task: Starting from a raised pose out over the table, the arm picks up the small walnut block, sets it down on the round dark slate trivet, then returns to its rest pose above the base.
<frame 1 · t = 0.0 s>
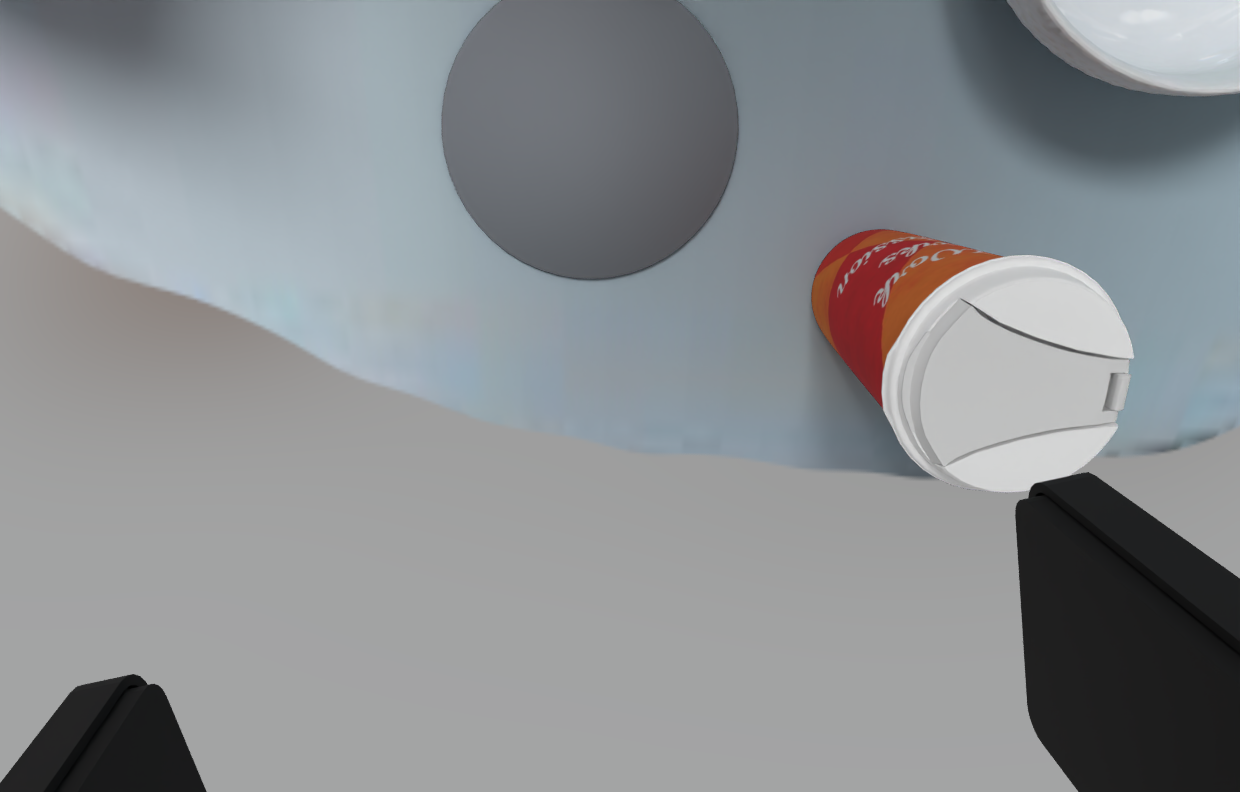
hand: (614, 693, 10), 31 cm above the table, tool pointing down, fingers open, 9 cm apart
paper cup: (869, 291, 42), on the table
trivet: (591, 132, 38), on the table
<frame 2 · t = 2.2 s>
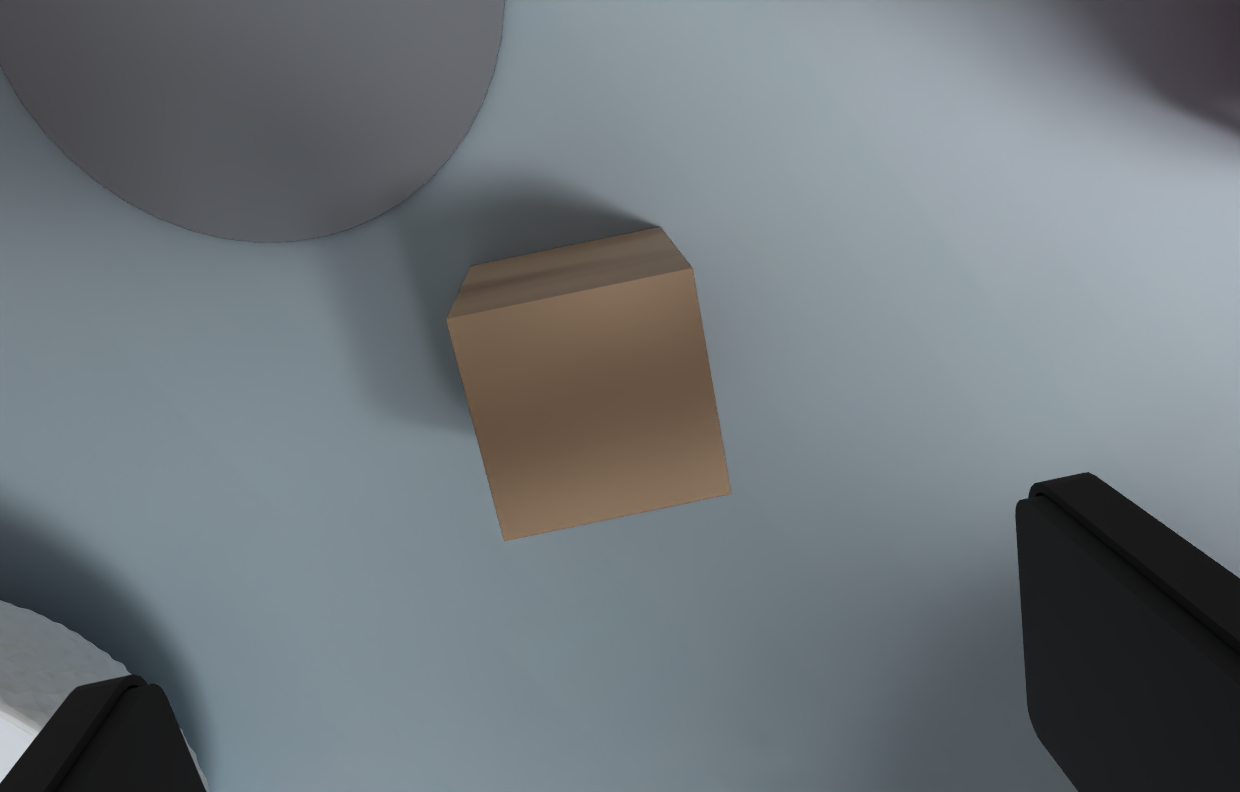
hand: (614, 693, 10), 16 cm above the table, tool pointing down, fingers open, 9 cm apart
walnut block: (585, 337, 25), on the table
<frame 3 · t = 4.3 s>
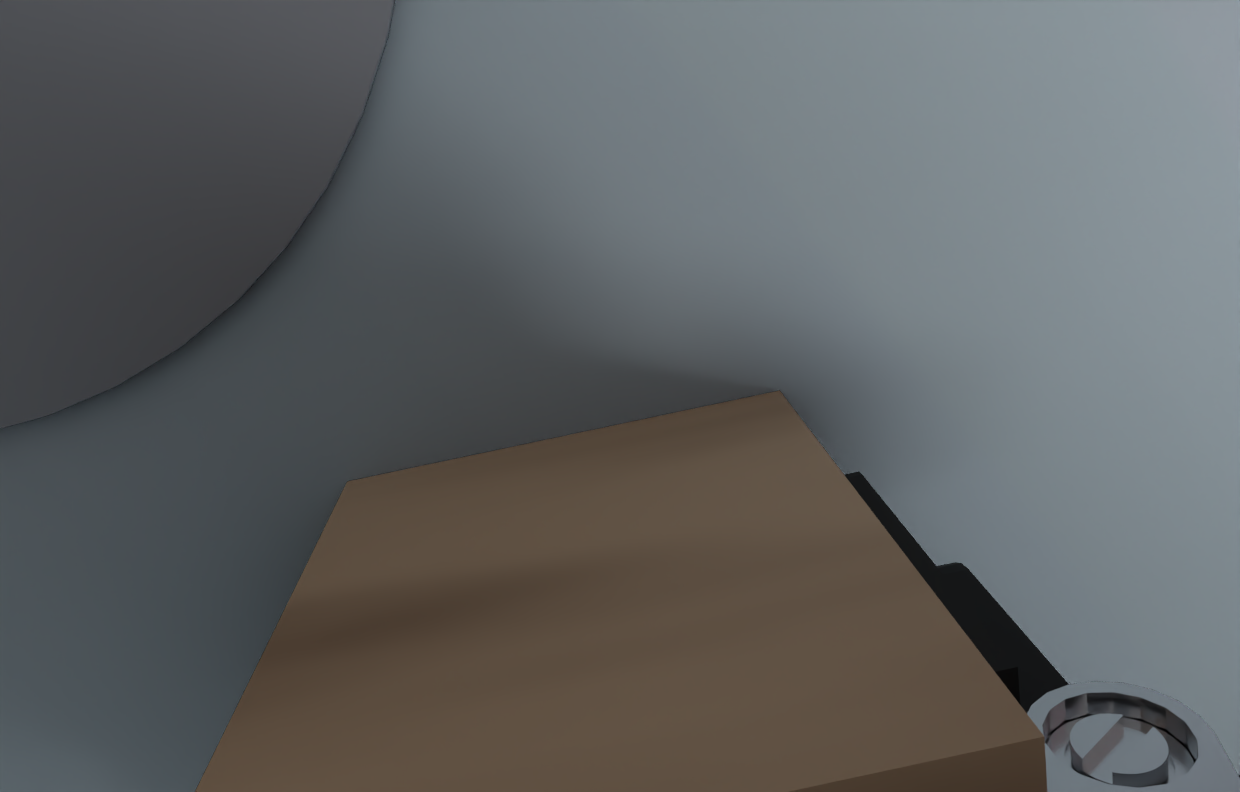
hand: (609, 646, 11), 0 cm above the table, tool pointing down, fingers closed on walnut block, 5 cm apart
walnut block: (607, 623, 12), on the table, touching gripper
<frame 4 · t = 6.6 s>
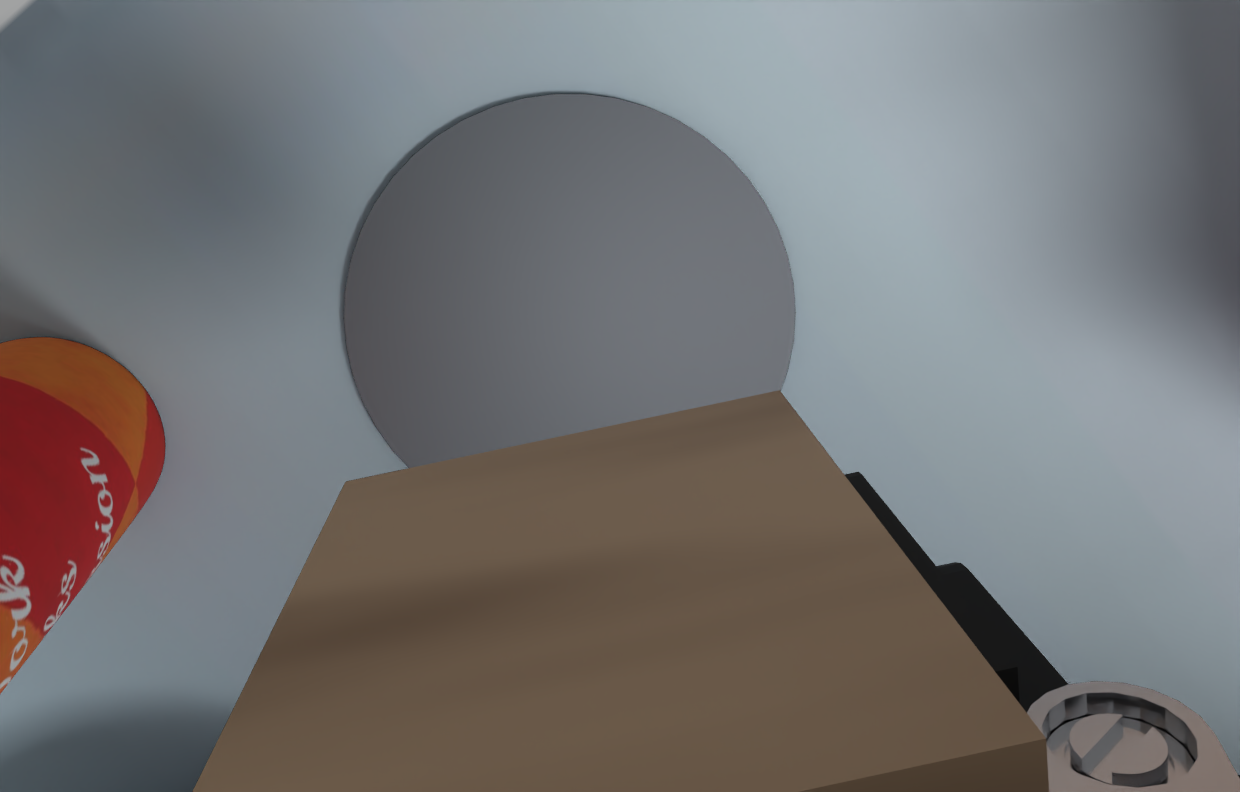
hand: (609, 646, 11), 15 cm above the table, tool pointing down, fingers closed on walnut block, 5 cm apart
paper cup: (64, 431, 26), on the table
trivet: (573, 328, 25), on the table
walnut block: (606, 623, 11), point 15 cm above the table, touching gripper
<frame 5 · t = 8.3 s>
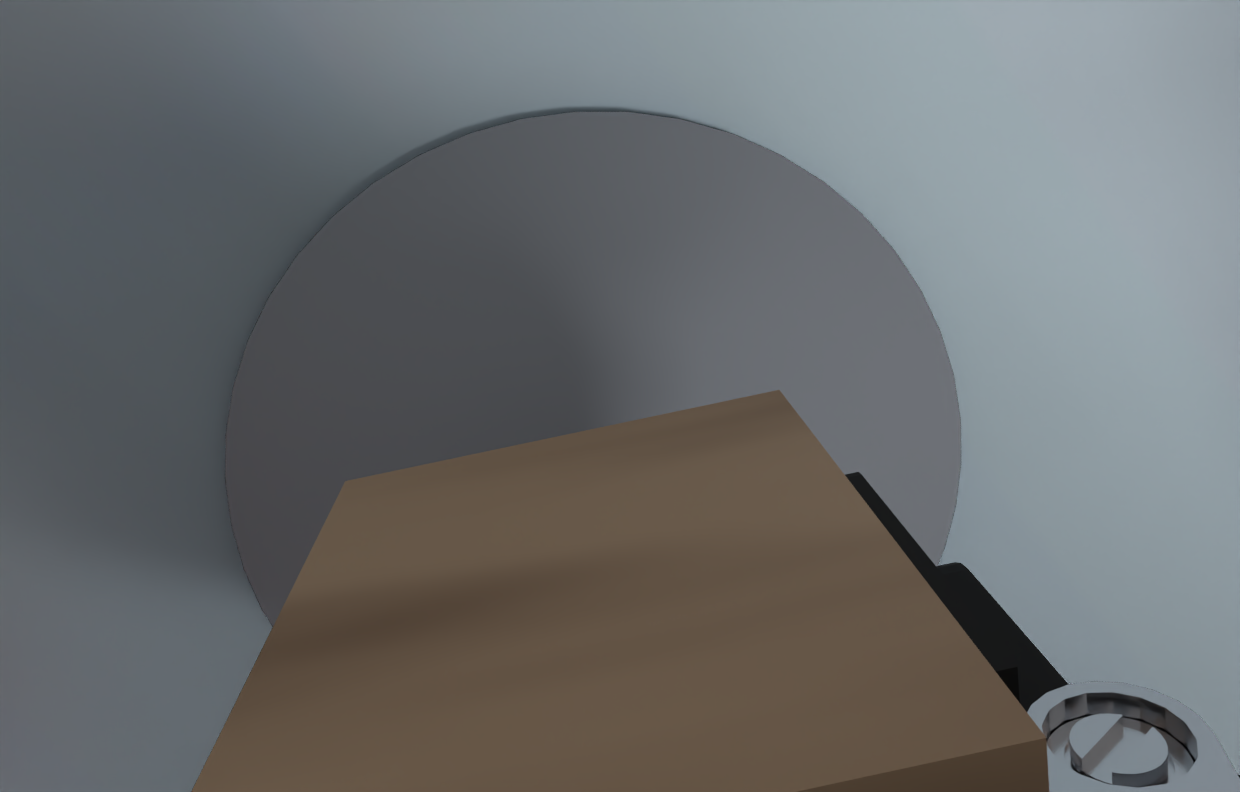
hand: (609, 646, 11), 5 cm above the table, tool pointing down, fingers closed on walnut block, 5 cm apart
trivet: (602, 488, 16), on the table
walnut block: (606, 623, 11), point 4 cm above the table, touching gripper
when the fingers open (2 cm above the table, at t = 9.3 s): walnut block drops 2 cm, resting on trivet.
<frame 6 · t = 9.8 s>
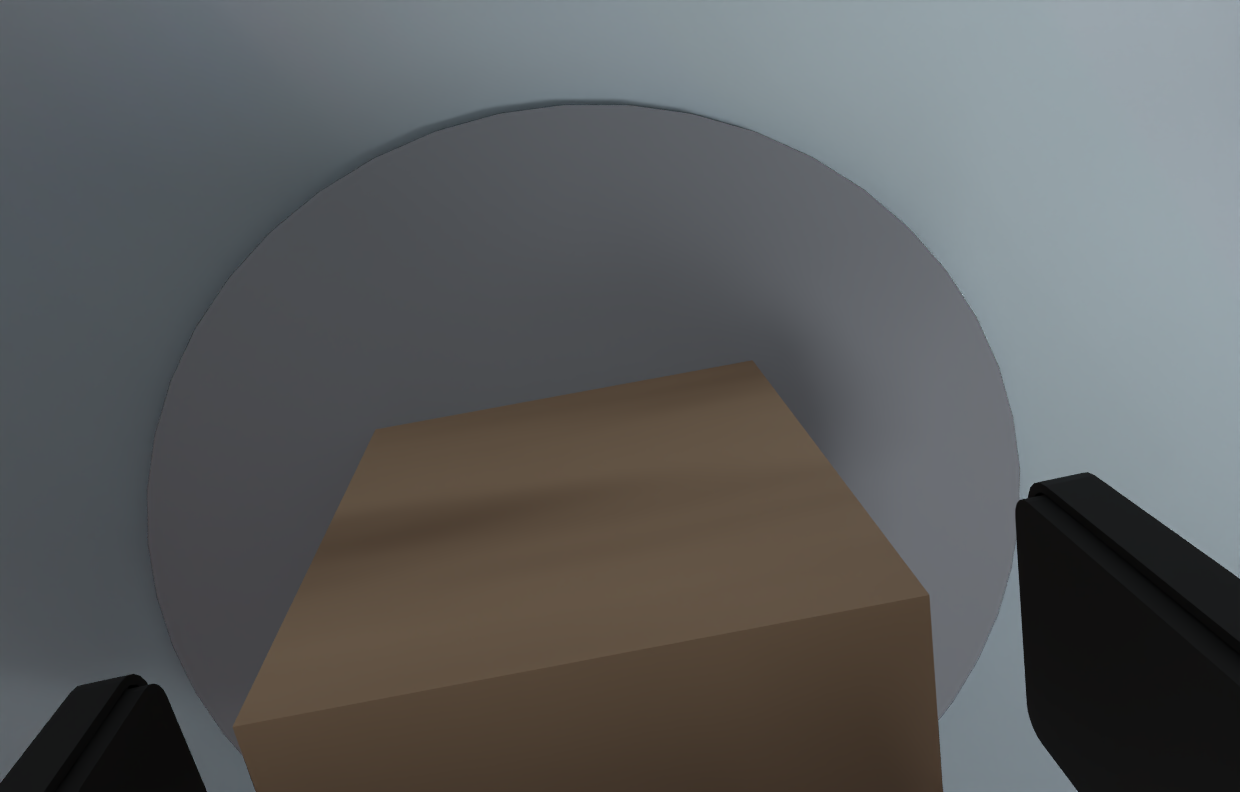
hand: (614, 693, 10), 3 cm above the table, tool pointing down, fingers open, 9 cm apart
trivet: (597, 549, 13), on the table
walnut block: (597, 562, 13), resting on trivet
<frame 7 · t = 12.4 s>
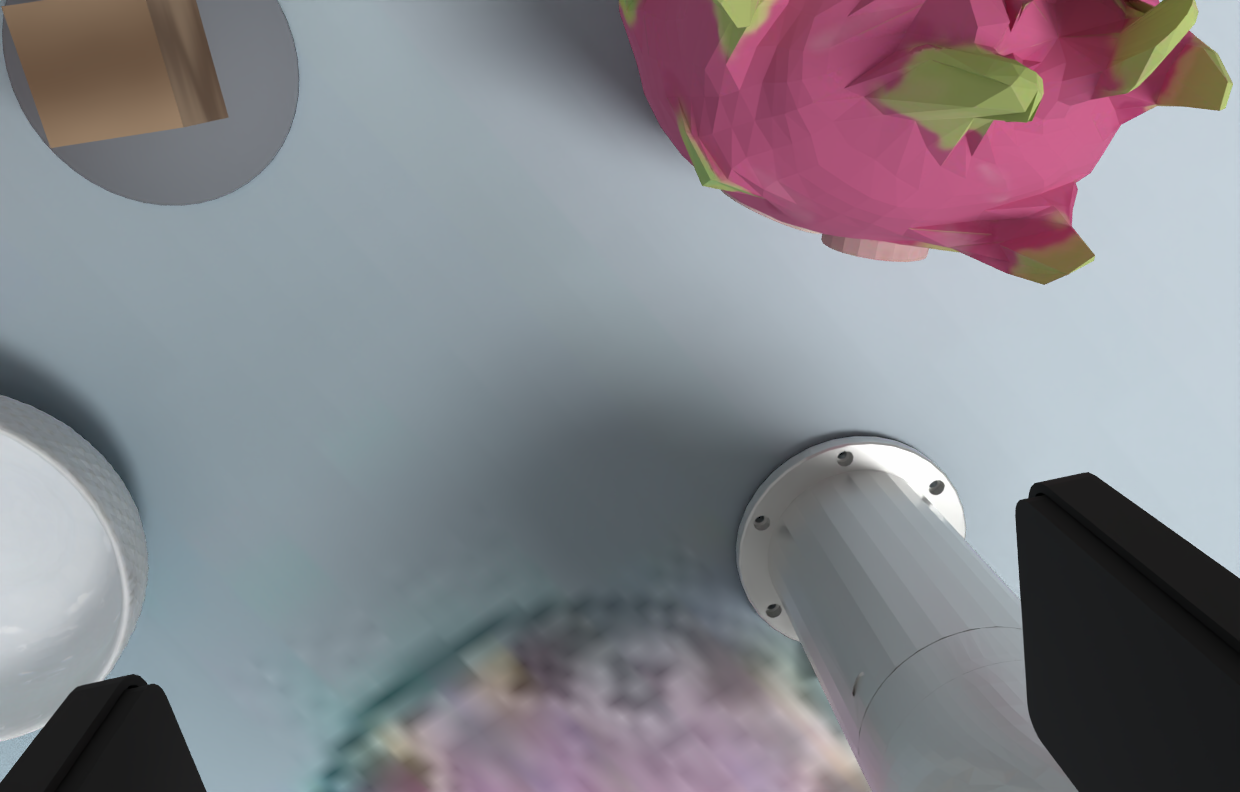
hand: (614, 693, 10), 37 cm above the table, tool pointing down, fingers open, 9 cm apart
trivet: (155, 64, 41), on the table
cereal bowl: (7, 512, 47), on the table
walnut block: (153, 66, 41), resting on trivet
pink dragon fruit: (775, 48, 43), on the table
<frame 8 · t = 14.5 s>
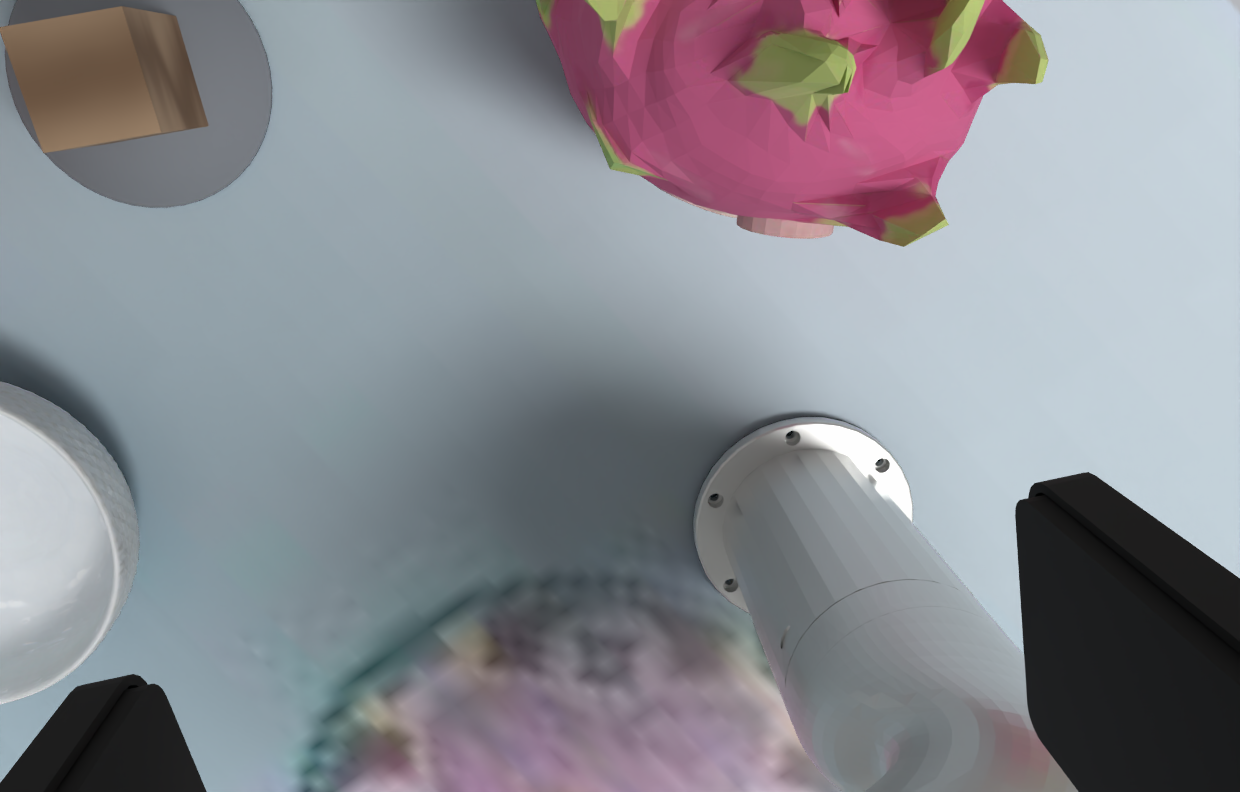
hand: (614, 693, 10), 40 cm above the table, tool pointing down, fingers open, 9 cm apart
trivet: (141, 79, 45), on the table
cereal bowl: (13, 495, 51), on the table
walnut block: (140, 81, 45), resting on trivet
pink dragon fruit: (711, 52, 47), on the table
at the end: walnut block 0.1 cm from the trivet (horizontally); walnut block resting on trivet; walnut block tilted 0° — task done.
